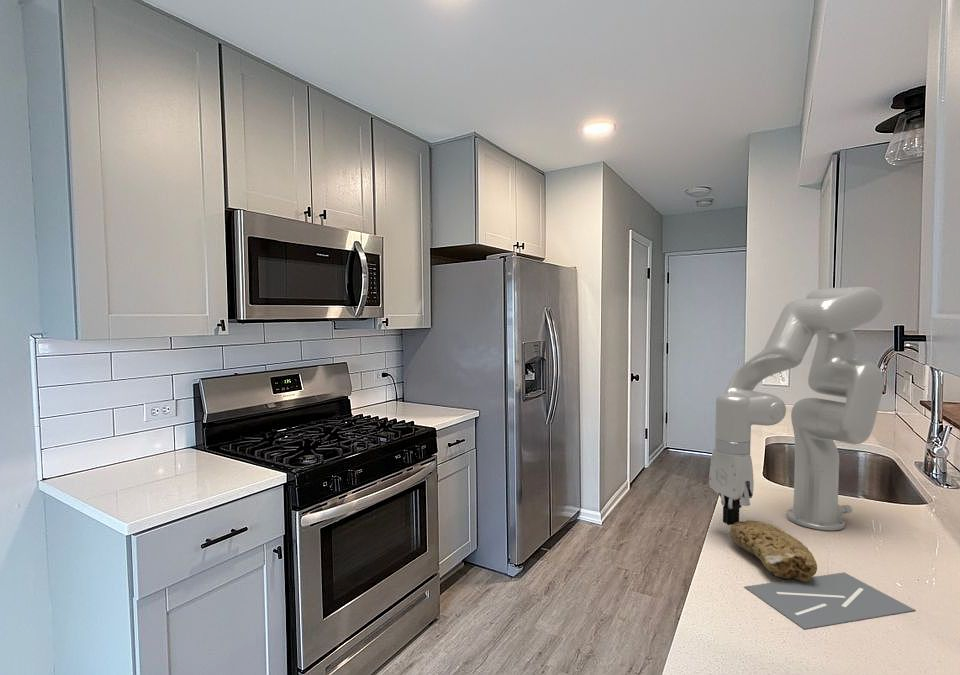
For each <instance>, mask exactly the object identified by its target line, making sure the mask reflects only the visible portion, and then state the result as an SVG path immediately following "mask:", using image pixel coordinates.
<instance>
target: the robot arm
mask: <svg viewBox="0 0 960 675" xmlns="http://www.w3.org/2000/svg"><path fill="white" fill-rule="evenodd" d="M883 305H884V301H883V297H882V296H881V293H880V292H879V291H878V290H877V289H875V288H873V287H869V286H850V287H849V286H847V287H830V288H829V287H825V288H819V289H815V290H812V291H811V292H809V293H807V295H806V297H805V298H800V299H794V300H791V301H789V302H788V303H787V304H786V305H784V308H783V309H782V311H781V313H780V314H779V317H778V319H777V321H776V323H775V325H774V328H773V329H772V331H771V334H770V336H769V338H768V340H767V342H766V344H765V345H764V348H763V349H762V350H761V351H760V352H758V353H757V354H755V355H754V356H753V357H751V358H750V359H748V361H746V362H745V363H743V365H741V366H740V367H739V368H738V369H737V370H736V371H735V373H733V375H732V377H731V378H730V380H729V383H728V385H727V387H726V389H725V392H724V393H721V394H719V395H718V396H717V397H716V400H715V427H714V428H715V430H714V433H715V434H714V435H715V436H714V448H713V450H712V453H711V456H710V463H709V464H710V465H709V475H708V476H709V477H708V478H709V479H708V484H709V487H710V488H711V489H712V490H713V491H714V492H715V493H717V494H718V495H719V497H720V503H721V506H722V523H724V524H726V525H728V526H732V525H733V524H734V523H736V522H740V509H741V508H742V507H745V506H747V507H748V506H750V505H751V500H750V499H752V498H753V495H754V489H755V488H754V487H755V486H754V481H755V480H754V468H753V461H752V456H751V439H752V438H751V437H752V434H751V432H752V426H755V425H756V426H768V427H769V426H774V425H777V424H778V423H780V422H782V421H783V419H784V418H785V417H786V412H787V407H786V404H785V402H784V401H783V399H781V398H780V397H778V396H777V395H775V394H771V393H766V392H761V391H755V390H754V389H755V388H756V386H757V385H759V383H760V382H762V381H763V380H764V379H765V380H766V378H768V377H771V376H772V375H776V374H778V373H782V372H783V373H784V372H785V371H788V370H791V369H794V368H796V367H798V366H799V365H801V363H802V362H803V360H804V357H805V355H806V353H807V351H808V348H809V347H810V345H811V342H812V340H813V338H814V336H815V335H816V334H817V335H816V336H817V341H816V345H815V351H814V354H813V358H812V360H811V366H810V369H809V373H808V379H807V381H808V382H807V383H808V386H809V388H810V389H811V390H812V391H813V392H815V393H818V394H821V395H827V396H832V397H838V398H844V399H845V402H842V401H837V400H831V399H825V398H818V397H805V398H802V399H800V400H798V401H796V402H795V403H794V405H793V406H792V409H791V414H790V416H791V425H792V429H793V434H794V435H793V436H794V472H793V474H794V475H793V476H794V480H793V482H794V483H793V508H789V509H788V510H786V518H787V519H788V520H789V521H791V522H793V523H794V524H796V525H799V526H802V527H806V528H809V529H812V530H813V529H814V530H820V531H830V532H831V531H840V530H842V529H844V528H845V526H846V522H845V520H844V519H843V518H842V517H841V516H842V515H843V514H850V513H852V512H853V508H852V506H851V505H849V504H845V505H844V504H842V505H840V504H839V479H840V478H839V477H840V476H839V475H840V474H839V473H840V454H839V453H840V452H839V450H838V448H837V446H836V443H835V442H834V441H836V442H840V443H845V444H850V445H861V444H863V443H865V442H866V441H867V440H868V439H869V438H870V436H871V435H872V432H873V430H874V426H875V423H876V419H877V414H878V410H879V407H880V403H881V399H882V395H883V391H884V375H883V372H882V371H881V369H880V367H879V366H878V365H877V364H875V363H873V362H870V361H866V360H861V359H860V360H858V359H855V357H856V352H857V346H858V340H857V338H856V335H855V333H854V331H853V330H854V329H855V328H859V327H861V326H863V325H865V324H869V323H870V322H872V321H873V320H875V319H876V318H877V317H878V316H879V314H880V313H881V311H882V309H883Z"/></svg>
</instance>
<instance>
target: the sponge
mask: <svg viewBox="0 0 960 675" xmlns="http://www.w3.org/2000/svg"><path fill="white" fill-rule="evenodd" d="M729 534H730V538H732V541H734V543H735V544H737V545H738V546H739V548H740V547H741V549H744V550H745V551H746V552H747V553H748V554H751V555H754V556H756V558H757V559H759V560H760V561H761V563H762V565H763V566H764V567H765V569H766V570H767V571H768V572H770V573H772V574H774V576H775V577H778V578H782V579H789V580H792V579H793V580H794V579H797V580H798V581H801V582H807V581H810V580H811V579H812V578H813V577H815V575H816V574H817V571H818V564H817V561H816V559H815V557H814V555H813V553H812V552H811V551H810V550H809V549H808V547H807V546H806V545H804V544H803V543H802V542H801V541H800V540H798V538H796V537H795V536H792V535H791V534H788V533H786V531H784V530H782V529H780V528H779V527H777V526H774V525H773V524H769V523H766V522H761V521H758V520H750V519H749V520H745V521H743V520H742V521H739V522H736V523H734V524H733V525H730V529H729Z"/></svg>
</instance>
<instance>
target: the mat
mask: <svg viewBox="0 0 960 675" xmlns="http://www.w3.org/2000/svg"><path fill="white" fill-rule="evenodd" d="M812 577H813V578H812V579H811V580H810V581H807V582H801V581H798V580H797V579H794V578H793V579H789V580H788V579H787V580H779V581H775V582H774V581H773V582H768V583H767V582H766V583H761V584H760V583H759V584H753V585H746V586H744V588H745V589H746V590H747V591H749V592H750V593H752V594H753V595H754V596H756V597H757V598H758V599H760V600H761V601H763V602H764V603H766V605H767V604H768V606H770V607H771V608H773V609H774V610H776V611H777V612H778V613H780V614H781V615H783V616H784V617H786V618H787V619H789V620H790V621H792V622H793V623H795V625H797V626H799V627H800V628H801V629H803V630H810V629H815V628H816V629H817V628H822V627H829V626H833V625H834V626H835V625H840V624H846V623H852V622H857V621H864V620H868V619H874V618H875V619H876V618H880V617H886V616H893V615H900V614H905V613H910V612H915V611H916V609H914V608H912V607H911V606H909V605H907V604H905V603H903V602H901V601H899V600H897V599H896V598H894V597H892V596H890V595H888V594H886V593H884V592H883V591H881V590H878V589H877V588H875V587H873V586H871V585H869V584H867V583H865V582H864V581H861V580H859V579H858V578H856V577H854V576H852V575H850V574H848V573H846V572H844V571H843V572H837V573H832V574H831V573H830V574H825V575H816V576H815V575H814V576H812Z"/></svg>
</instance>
